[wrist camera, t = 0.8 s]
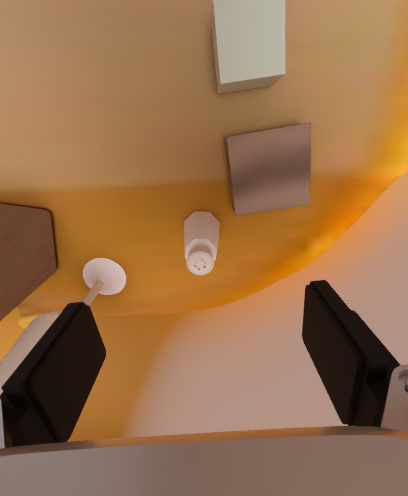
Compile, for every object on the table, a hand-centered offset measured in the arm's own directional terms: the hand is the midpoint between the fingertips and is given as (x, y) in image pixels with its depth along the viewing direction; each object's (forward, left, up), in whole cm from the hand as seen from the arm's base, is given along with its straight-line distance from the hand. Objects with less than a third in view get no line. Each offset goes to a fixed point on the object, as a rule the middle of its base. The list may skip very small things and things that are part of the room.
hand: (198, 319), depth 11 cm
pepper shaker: (+5, -1, -25) cm, 25 cm away
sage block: (-14, +6, -25) cm, 29 cm away
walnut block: (-2, +8, -25) cm, 27 cm away
